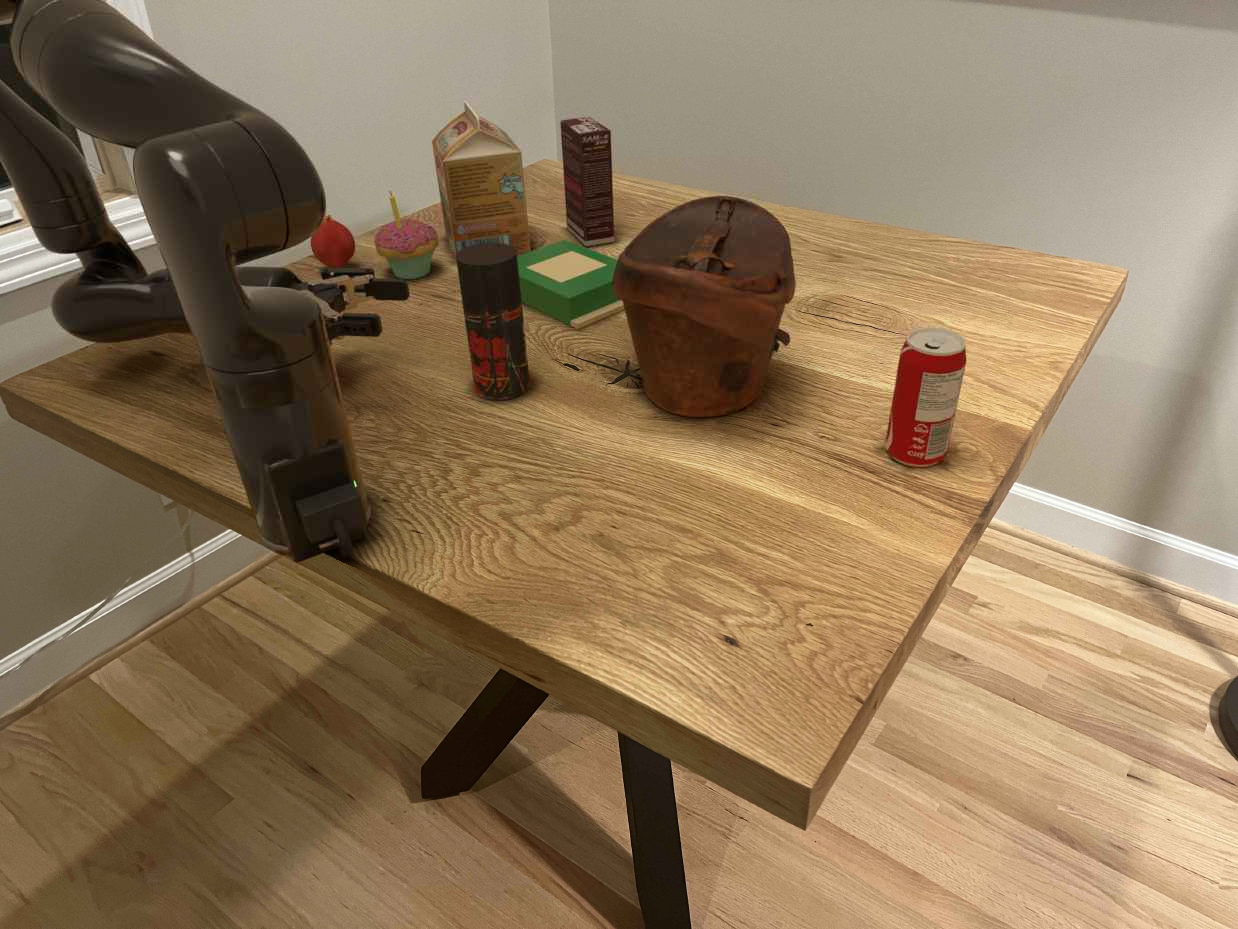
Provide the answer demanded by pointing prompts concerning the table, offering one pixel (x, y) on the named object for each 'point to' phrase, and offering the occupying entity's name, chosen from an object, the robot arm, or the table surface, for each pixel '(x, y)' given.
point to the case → (706, 303)
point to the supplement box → (588, 180)
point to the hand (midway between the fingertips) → (394, 307)
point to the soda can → (925, 396)
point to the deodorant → (494, 320)
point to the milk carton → (480, 184)
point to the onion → (333, 243)
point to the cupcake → (407, 245)
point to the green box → (569, 283)
